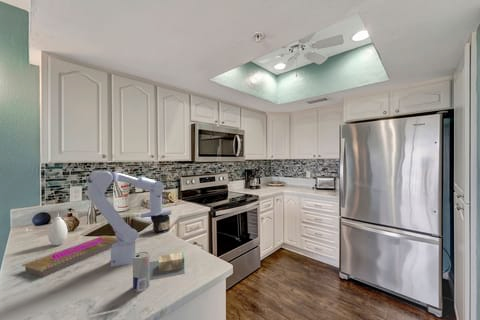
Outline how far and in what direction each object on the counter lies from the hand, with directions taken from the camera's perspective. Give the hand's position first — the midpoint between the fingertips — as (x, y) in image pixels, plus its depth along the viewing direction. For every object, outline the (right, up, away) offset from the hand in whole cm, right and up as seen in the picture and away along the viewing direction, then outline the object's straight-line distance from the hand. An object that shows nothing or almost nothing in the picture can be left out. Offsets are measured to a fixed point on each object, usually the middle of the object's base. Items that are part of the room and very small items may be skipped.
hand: (156, 229), depth 102 cm
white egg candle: (-59, -11, +7) cm, 60 cm away
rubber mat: (+10, -10, -19) cm, 24 cm away
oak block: (+9, -7, -19) cm, 23 cm away
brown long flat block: (-36, -11, -6) cm, 38 cm away
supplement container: (-9, -11, +29) cm, 33 cm away
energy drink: (+8, -10, -31) cm, 34 cm away
